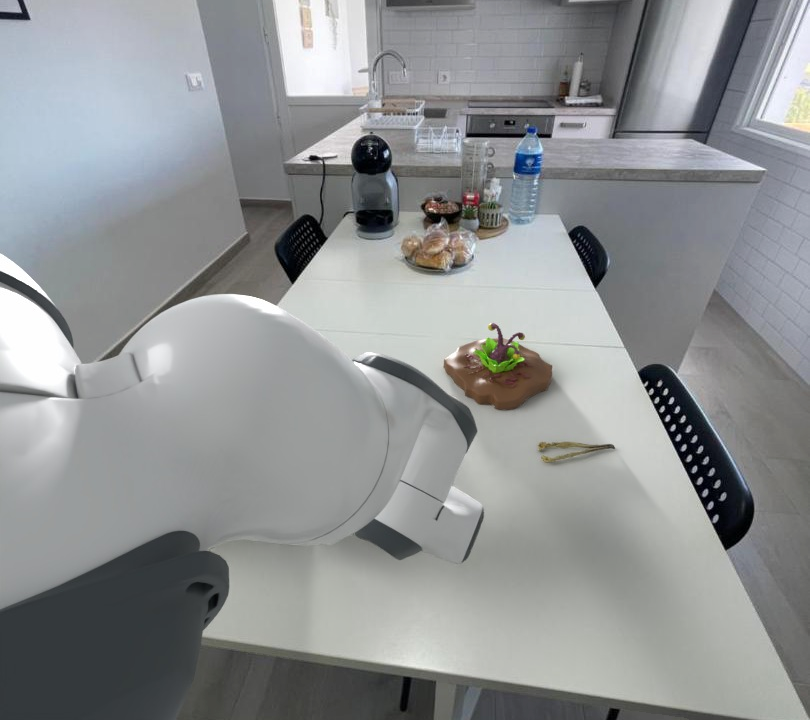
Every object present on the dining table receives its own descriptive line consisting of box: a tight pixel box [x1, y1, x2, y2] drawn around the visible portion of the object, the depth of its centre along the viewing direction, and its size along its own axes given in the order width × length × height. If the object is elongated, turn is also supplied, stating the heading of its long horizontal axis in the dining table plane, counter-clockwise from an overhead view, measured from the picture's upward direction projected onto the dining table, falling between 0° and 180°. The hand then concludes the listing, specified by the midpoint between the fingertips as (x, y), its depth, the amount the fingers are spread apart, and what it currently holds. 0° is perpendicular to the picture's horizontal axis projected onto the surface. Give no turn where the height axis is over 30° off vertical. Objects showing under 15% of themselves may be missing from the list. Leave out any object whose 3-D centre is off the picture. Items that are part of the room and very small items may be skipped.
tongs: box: [537, 441, 616, 463], centre depth 74 cm, size 4×13×2 cm, turn 100°
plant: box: [443, 322, 553, 411], centre depth 88 cm, size 20×20×11 cm
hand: (289, 445), depth 66 cm, fingers closed on soda can, 5 cm apart
